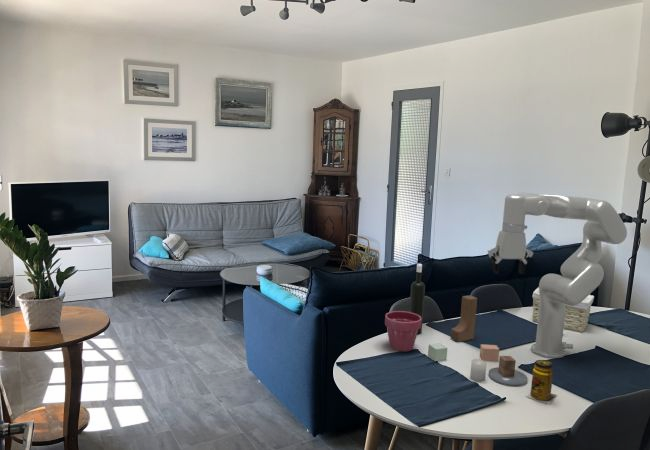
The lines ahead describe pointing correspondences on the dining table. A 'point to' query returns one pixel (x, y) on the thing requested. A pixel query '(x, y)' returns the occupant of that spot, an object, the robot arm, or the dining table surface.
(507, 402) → the dining table surface
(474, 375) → the grey cylinder
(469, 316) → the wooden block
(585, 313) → the storage basket
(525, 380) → the slate coaster
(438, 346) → the sage cube
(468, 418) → the dining table surface
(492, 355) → the terracotta brick
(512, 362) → the walnut block
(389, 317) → the plant pot
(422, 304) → the wine bottle
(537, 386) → the condiment
